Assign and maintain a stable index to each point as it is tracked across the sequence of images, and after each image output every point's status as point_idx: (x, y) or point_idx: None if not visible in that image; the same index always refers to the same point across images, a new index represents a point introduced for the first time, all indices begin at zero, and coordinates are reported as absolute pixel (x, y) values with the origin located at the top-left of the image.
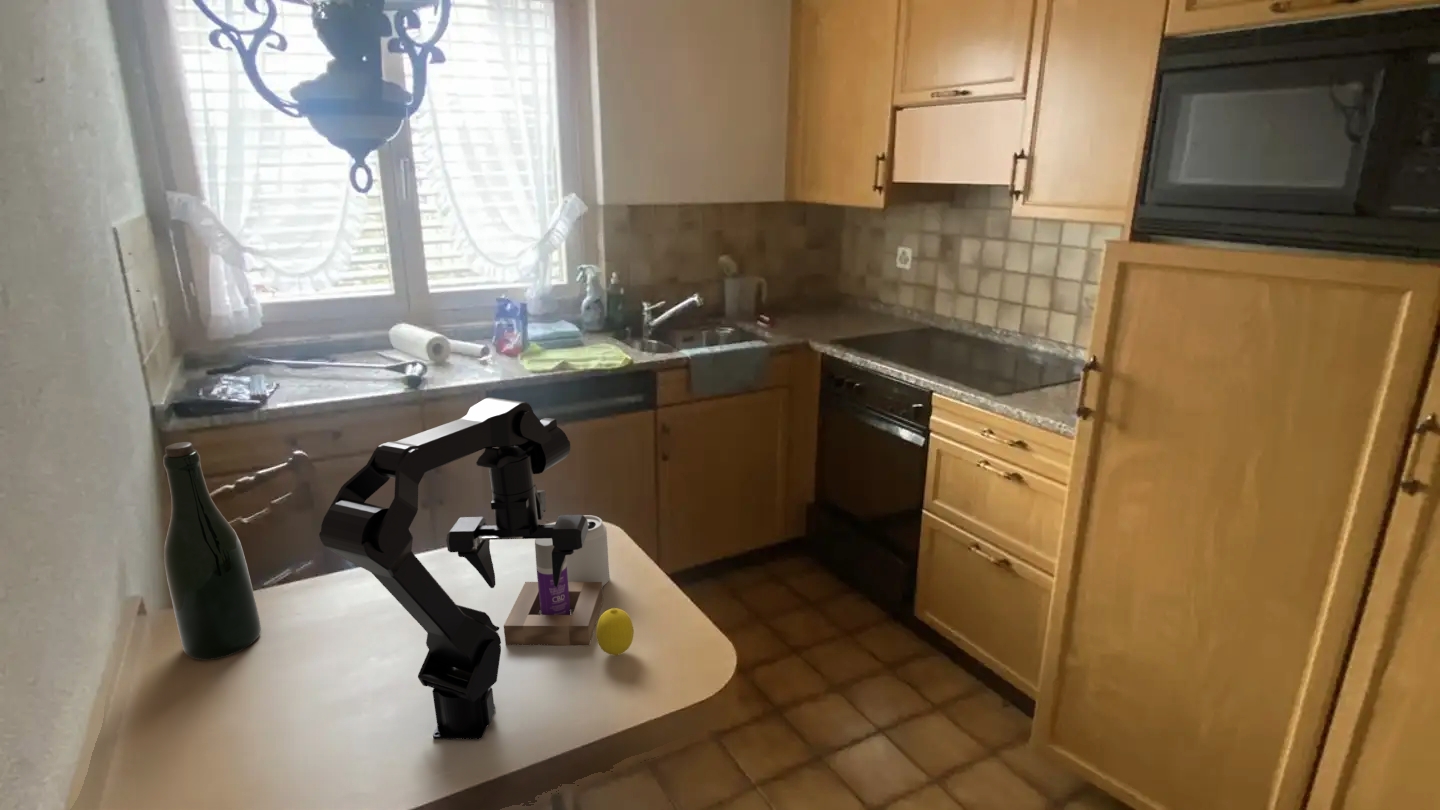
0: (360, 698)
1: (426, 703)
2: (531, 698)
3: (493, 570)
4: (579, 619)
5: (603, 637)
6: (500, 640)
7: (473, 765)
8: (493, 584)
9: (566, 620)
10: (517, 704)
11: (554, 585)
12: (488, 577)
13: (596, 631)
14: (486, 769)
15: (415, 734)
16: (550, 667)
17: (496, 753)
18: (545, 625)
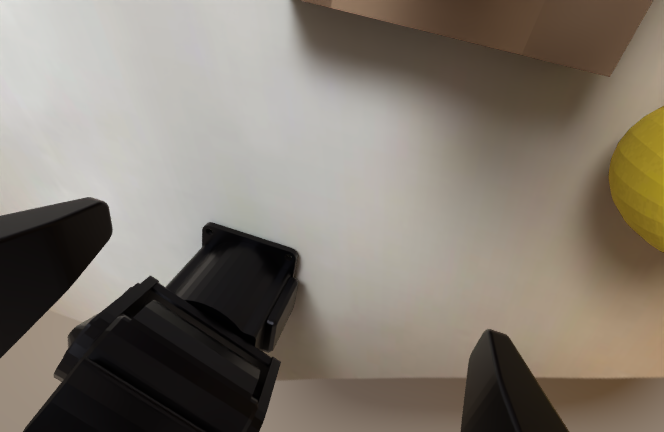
0: (29, 141)
1: (159, 194)
2: (372, 245)
3: (13, 245)
4: (588, 8)
5: (636, 232)
6: (253, 415)
7: (284, 354)
8: (96, 242)
9: (522, 3)
10: (342, 253)
11: (468, 374)
12: (32, 321)
13: (624, 183)
14: (304, 366)
15: (174, 267)
16: (426, 145)
17: (315, 347)
18: (422, 28)
